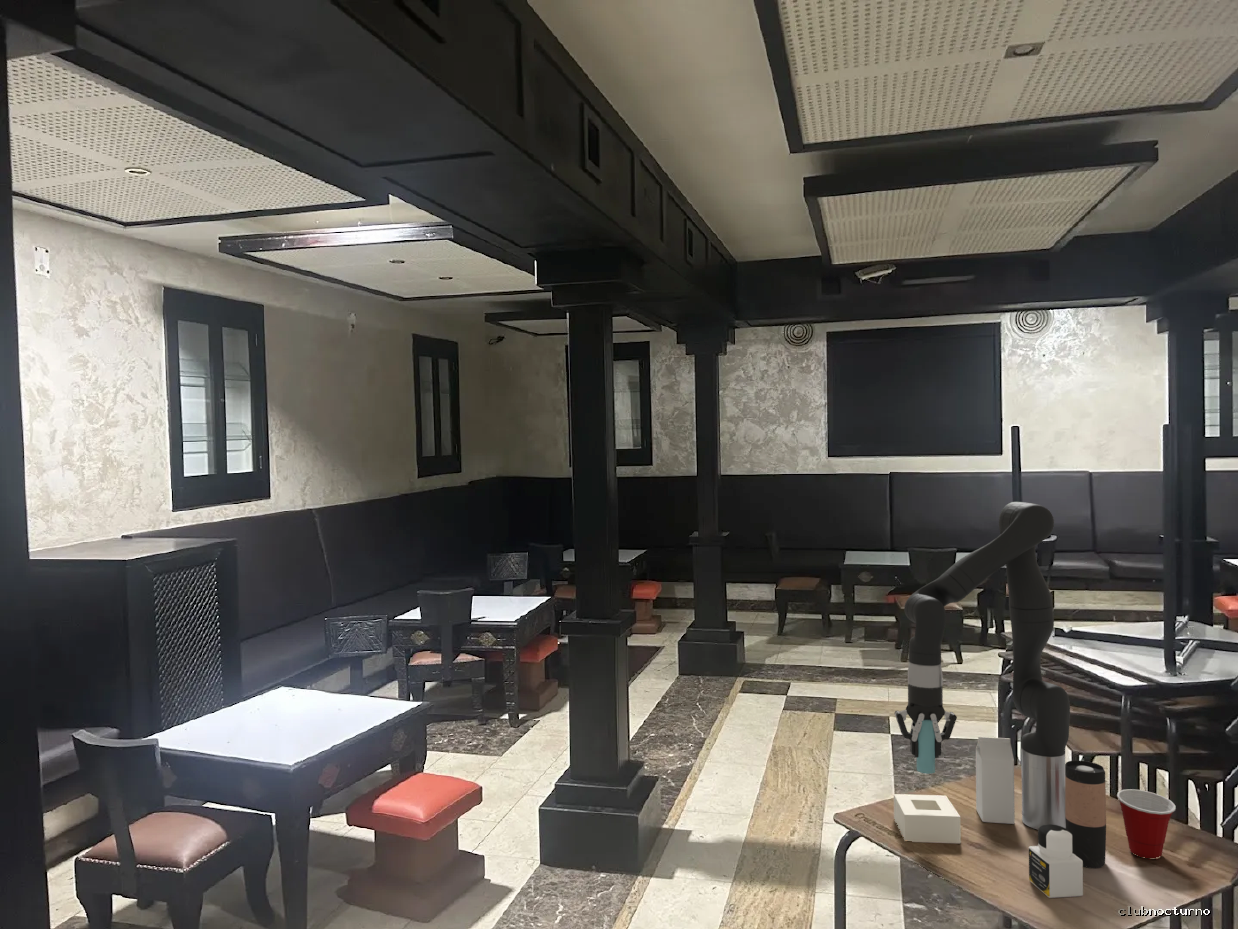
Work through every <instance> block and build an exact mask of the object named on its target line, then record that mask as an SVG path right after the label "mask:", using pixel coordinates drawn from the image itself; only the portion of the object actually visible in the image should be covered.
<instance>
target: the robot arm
mask: <svg viewBox="0 0 1238 929" xmlns="http://www.w3.org/2000/svg"><path fill="white" fill-rule="evenodd" d="M998 517H999V518H998V528H999V529H998V530H999V535H998V536H997V537H995V538H994V539H993V540H991V541H990V542H988V543H987V544H985V545H983V546H981V547H980V548H977V549H976V550H973V551H971V552H970V553H968V554H967V555H965V556H963V557H961V558H959V559H958V560H957V561H956V562H955V563H953V564H952V565H951V566H950V567H949V568H948V569H947V570H945V571H944V572H943V573H942V574H940V576H939V577H938V578H936V579H935V580H933V581H931V582H929V583H927V584H926V585H924V586H922V587H920V588H919V589H917V590H916V591H915V592H913V593H912V594H911V595H910V596H909V597H908V598H907V600H906V601H905V604H904V608H903V610H904V614H905V616H906V617H907V619H908V620H909V621H911V622H913V623H914V624H915V630H914V636H912V637H911V638H910V639H909V642H908V667H907V705H906V707H905V709H903V710H900V711H899V710H895V711H894V712H893V713H894V716H895V718H896V721H897V724H898V727H899V730H900V733H901V735H902V737H903V738H904V739H906V740H909V751H910V753H911V755H912V756H913V757H914V758H916V759H917V758H918V741H917V738H918V734H919V732H920V729H921V726H922V721H923V720H931V721H932V722H933V729H934V733H935V759H940V758H939V756H941V755H942V742H943V741H944V740H950V738H951V736H952V732H953V730H954V727H955V724H956V722H957V718H958V716H957V715H956V714H955V713H954V712H953V711H947V710H945V708H944V706H943V704H944V702H943V701H944V700H943V699H944V698H943V692H944V691H943V690H944V689H943V684H944V679H943V668H942V647H941V646H942V642H943V638H944V635H945V634H944V633H945V629H946V622H947V616H946V615H947V614H946V609H945V607H947V605H949V604H952V603H953V604H954V603H959V602H961V601H962V600H964V599H965V598H966V597H967V596H968V595H970V593H972V592H973V591H974V590H975V589H976V588H978V587H979V586H981V584H982V583H984V581H986V580H987V579H988V578H990V577H991V576H992V575H993V574H994V573H996V572H997V571H999V570H1000V569H1001V568H1003V567H1004V566H1005V568H1006V582H1007V592H1008V606H1009V608H1008V609H1009V618H1010V619H1009V620H1010V625H1011V626H1010V627H1011V640H1012V656H1013V658H1012V659H1013V662H1012V666H1013V667H1012V698H1013V703H1014V707H1015V708H1016V710H1017V712H1018V713H1019V714H1021V715H1022V716H1024V717H1027V718H1029V719H1032V720H1034V721H1036V723H1035V732H1027V733H1025V734H1023V735H1022V736H1021V740H1020V741H1021V743H1020V748H1021V751H1020V753H1021V755H1020V756H1021V820H1022V823H1023V824H1024V825H1025V826H1027V827H1029V828H1032V829H1034V830H1037V831H1038V828H1039V827H1040V826H1042V825H1048V824H1052V825H1058V826H1061V827H1064V828H1066V822H1065V764H1066V746H1067V744H1068V741H1069V737H1070V720H1071V703H1070V702H1071V701H1070V698H1069V695H1068V693H1067V691H1066V689H1065V688H1063V687H1062V686H1060V685H1057V684H1055V683H1051V682H1048V681H1044V680H1043V676H1042V669H1041V659H1042V654H1043V651H1044V648H1046V645H1047V643H1048V641H1049V640H1050V638H1051V636H1052V634H1053V631H1054V626H1055V619H1054V607H1053V605H1054V604H1053V600H1052V595H1051V591H1050V589H1049V586H1048V584H1047V581H1046V580H1045V578H1044V576H1043V573H1042V570H1041V569H1040V567H1039V566H1040V565H1039V564H1038V559H1037V555H1036V553H1037V552H1036V546H1037V545H1039V544H1040V543H1042V542H1043V541H1045V540H1046V539H1047V538H1048V537H1049V536H1050V535H1051V534H1052V532H1053V530H1054V527H1055V519H1054V516H1053V514H1052V512H1051V511H1050V510H1049V508H1047V507H1045V506H1043V505H1042V504H1037V503H1031V502H1025V501H1011V502H1009V503H1007V504H1005V506H1004V507H1003V508H1002V509H1001V511H1000V514H999V516H998ZM907 716H908V717H909V718H910V719H911V721H912V722H911V726H910V730H909V731H910V732H909V731H908V728H907V726H906V723H905V721H906V720H907ZM943 717H944V720H945V723H944V725H943V728H942V732H941V731H940V727H939V726H940V725H939V722H940V721H941V720H942V719H943Z"/></svg>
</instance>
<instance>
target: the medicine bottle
mask: <svg viewBox="0 0 1238 929" xmlns="http://www.w3.org/2000/svg"><path fill="white" fill-rule="evenodd" d="M1037 834H1038V835H1037V841H1038V842H1037V843H1038V844H1037V845H1032V846H1031V845H1030V846H1028V880H1029V882H1030V883H1031V884H1032V885H1033V886H1035V888H1037V889H1038V890H1039V891H1041V892H1042V893H1043V894H1044V895H1045V896H1046V897H1047V898H1049V899H1054V898H1055V899H1057V898H1072V897H1075V898H1076V897H1083V896H1084V875H1083V873H1084V870H1083V868H1084V867H1083V861H1082V860H1081V859H1080V858H1078V857H1077V856H1076V855H1074V854H1073V853H1072V834H1071V832H1070V831H1069V830H1067V829H1066V828H1064V827H1061V826H1058V825H1052V824H1048V825H1042V826H1040V827H1039V828H1038V830H1037Z"/></svg>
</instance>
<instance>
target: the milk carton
mask: <svg viewBox="0 0 1238 929" xmlns="http://www.w3.org/2000/svg"><path fill="white" fill-rule="evenodd" d="M975 805H976V806H975V809H976V812H977V814H978V816H979V818H980V819H981V821H982V822H983V823H996V824H1009V825H1010V824H1012V825H1014V824H1015V821H1016V820H1015V819H1016V818H1015V817H1016V814H1015V759H1014V752H1013V749H1012V744H1011V738H1005V737H989V736H988V737H986V736H978V741H977V745H976V747H975Z"/></svg>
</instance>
